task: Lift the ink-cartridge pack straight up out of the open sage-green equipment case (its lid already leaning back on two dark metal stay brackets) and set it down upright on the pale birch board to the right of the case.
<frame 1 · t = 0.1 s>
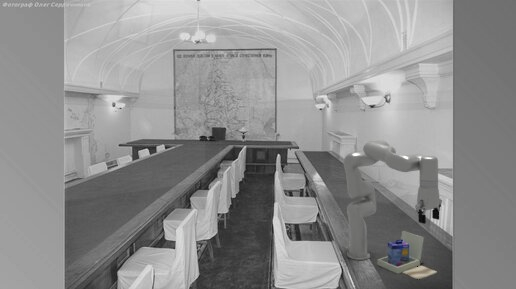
hand: (429, 220, 160), 31 cm above the table, fingers open, 9 cm apart
case: (398, 265, 187), on the table
ink cartridge box: (398, 265, 187), resting in case
board: (419, 273, 177), on the table
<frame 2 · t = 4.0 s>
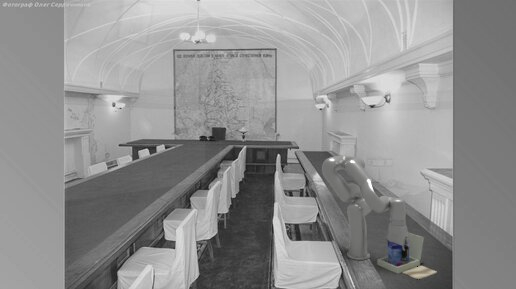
hand: (398, 254, 186), 6 cm above the table, fingers closed on ink cartridge box, 6 cm apart
ink cartridge box: (398, 265, 187), resting in case, touching gripper
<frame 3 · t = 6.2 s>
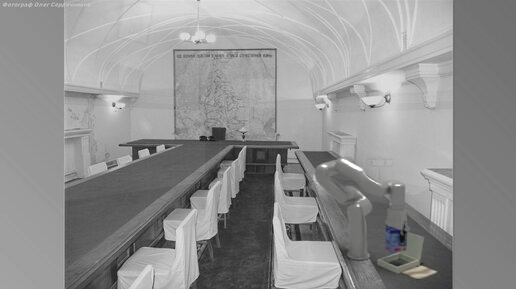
hand: (396, 239, 186), 14 cm above the table, fingers closed on ink cartridge box, 6 cm apart
ink cartridge box: (396, 250, 187), point 8 cm above the table, touching gripper
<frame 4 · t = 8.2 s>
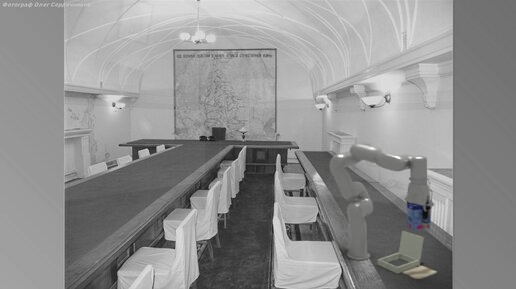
hand: (419, 216, 175), 29 cm above the table, fingers closed on ink cartridge box, 6 cm apart
ink cartridge box: (419, 228, 175), point 23 cm above the table, touching gripper
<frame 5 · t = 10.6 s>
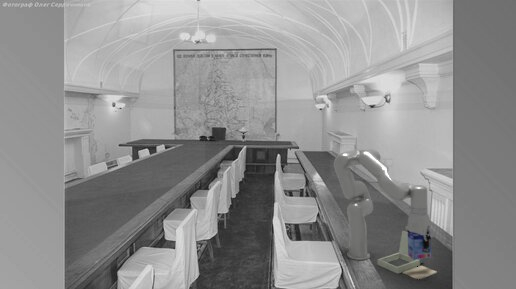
hand: (419, 245, 176), 14 cm above the table, fingers closed on ink cartridge box, 6 cm apart
ink cartridge box: (419, 257, 176), point 8 cm above the table, touching gripper
when the fingers open (7 cm above the table, at t = 12.6 s): ink cartridge box stays where it is, resting on board.
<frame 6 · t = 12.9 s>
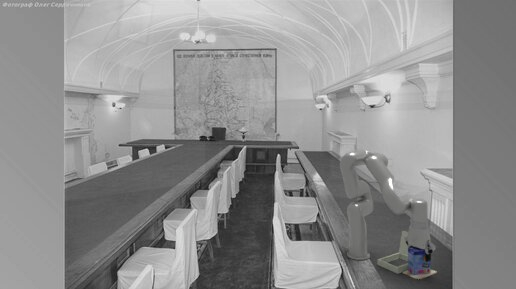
hand: (419, 257, 176), 8 cm above the table, fingers open, 9 cm apart
ink cartridge box: (419, 272, 177), resting on board
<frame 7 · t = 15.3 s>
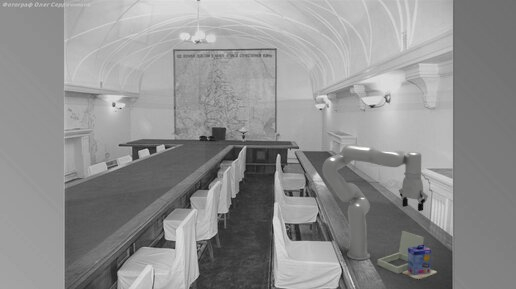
hand: (412, 208, 184), 30 cm above the table, fingers open, 9 cm apart
nothing on the table moved.
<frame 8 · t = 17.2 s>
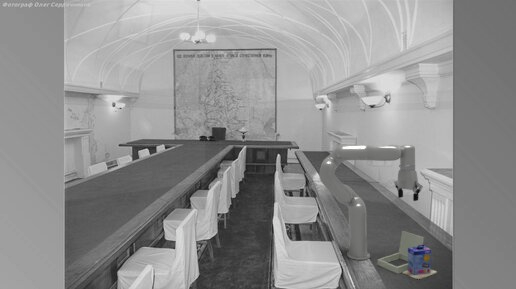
hand: (408, 198, 193), 33 cm above the table, fingers open, 9 cm apart
nothing on the table moved.
at the end: ink cartridge box inside the target area on the board (0.2 cm from its centre), point 0.4 cm above the board's base; ink cartridge box tilted 0°; the gripper is holding nothing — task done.
